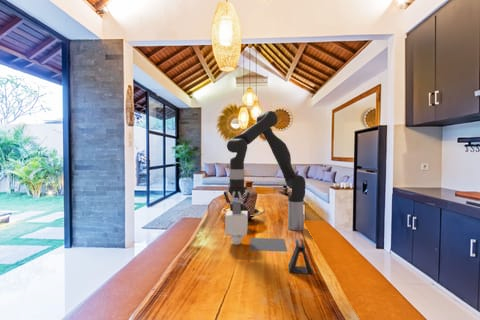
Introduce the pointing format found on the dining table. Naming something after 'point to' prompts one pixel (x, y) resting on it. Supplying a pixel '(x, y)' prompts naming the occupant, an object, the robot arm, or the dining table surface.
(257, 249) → the mat
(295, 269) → the phone stand
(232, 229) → the cover
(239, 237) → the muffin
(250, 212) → the ice cream bowl
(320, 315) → the dining table surface
